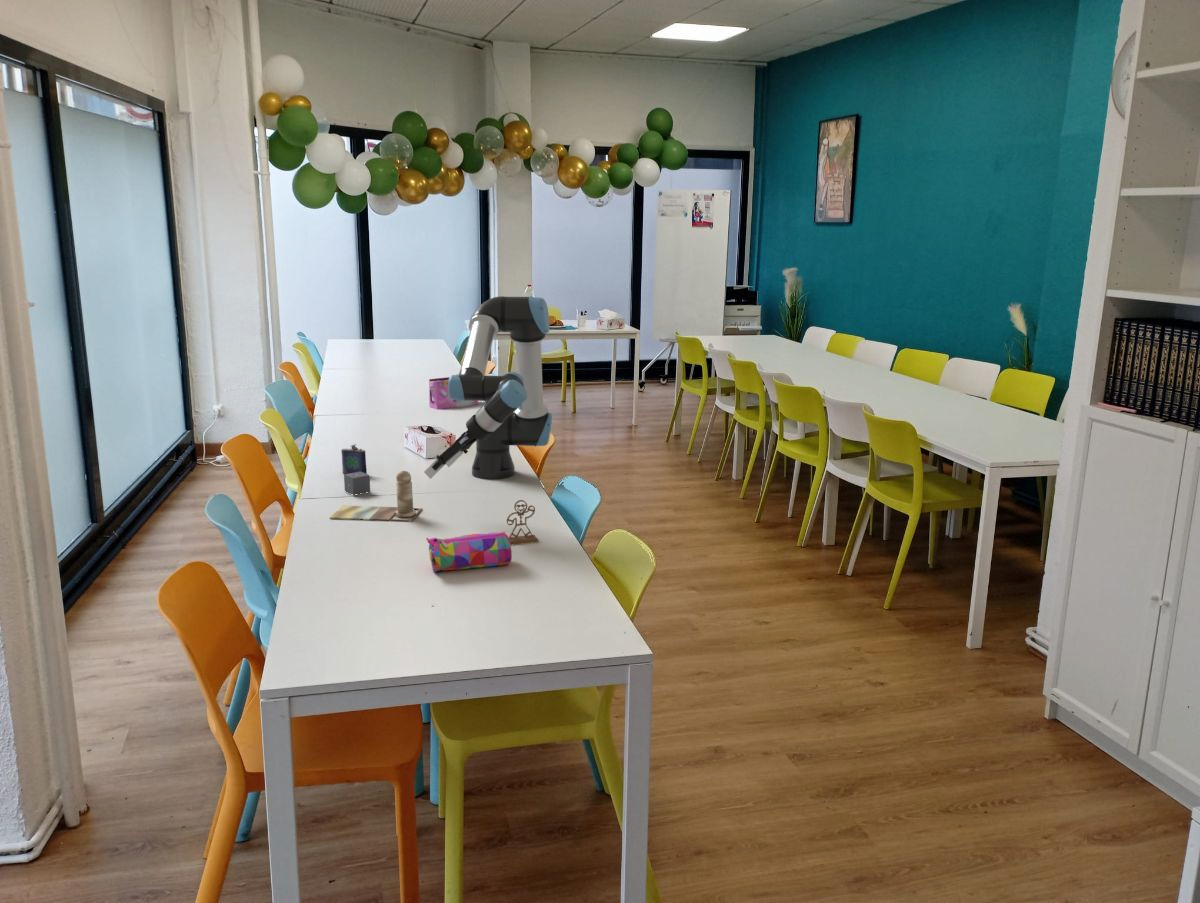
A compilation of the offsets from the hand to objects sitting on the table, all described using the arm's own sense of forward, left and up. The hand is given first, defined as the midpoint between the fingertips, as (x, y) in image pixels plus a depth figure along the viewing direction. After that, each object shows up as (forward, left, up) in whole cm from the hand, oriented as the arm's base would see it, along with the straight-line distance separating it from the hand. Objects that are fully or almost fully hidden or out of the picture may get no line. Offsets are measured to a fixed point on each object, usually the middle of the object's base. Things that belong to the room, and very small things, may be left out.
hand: (436, 469), depth 275 cm
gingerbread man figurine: (-28, +18, -15) cm, 36 cm away
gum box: (+33, -173, -15) cm, 176 cm away
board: (+20, -2, -15) cm, 25 cm away
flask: (+40, -46, -15) cm, 63 cm away
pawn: (+11, -2, -15) cm, 18 cm away
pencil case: (-17, +39, -16) cm, 46 cm away
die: (+33, -24, -15) cm, 43 cm away
